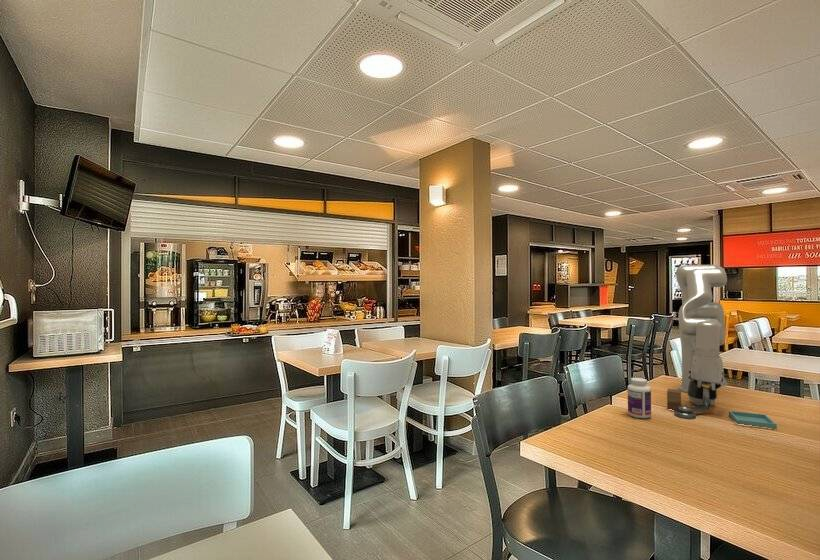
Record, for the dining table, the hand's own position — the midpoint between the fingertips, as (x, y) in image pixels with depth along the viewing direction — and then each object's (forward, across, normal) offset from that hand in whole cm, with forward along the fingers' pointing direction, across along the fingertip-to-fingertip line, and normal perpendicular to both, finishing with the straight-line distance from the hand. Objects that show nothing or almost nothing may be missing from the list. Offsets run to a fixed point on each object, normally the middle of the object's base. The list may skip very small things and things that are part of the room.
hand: (707, 397), depth 163 cm
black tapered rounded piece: (+7, -5, +10) cm, 14 cm away
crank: (+4, -2, -7) cm, 8 cm away
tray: (+6, +14, -1) cm, 15 cm away
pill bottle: (+5, -15, -25) cm, 30 cm away
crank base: (+6, -4, -12) cm, 13 cm away
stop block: (+6, -10, -6) cm, 13 cm away
